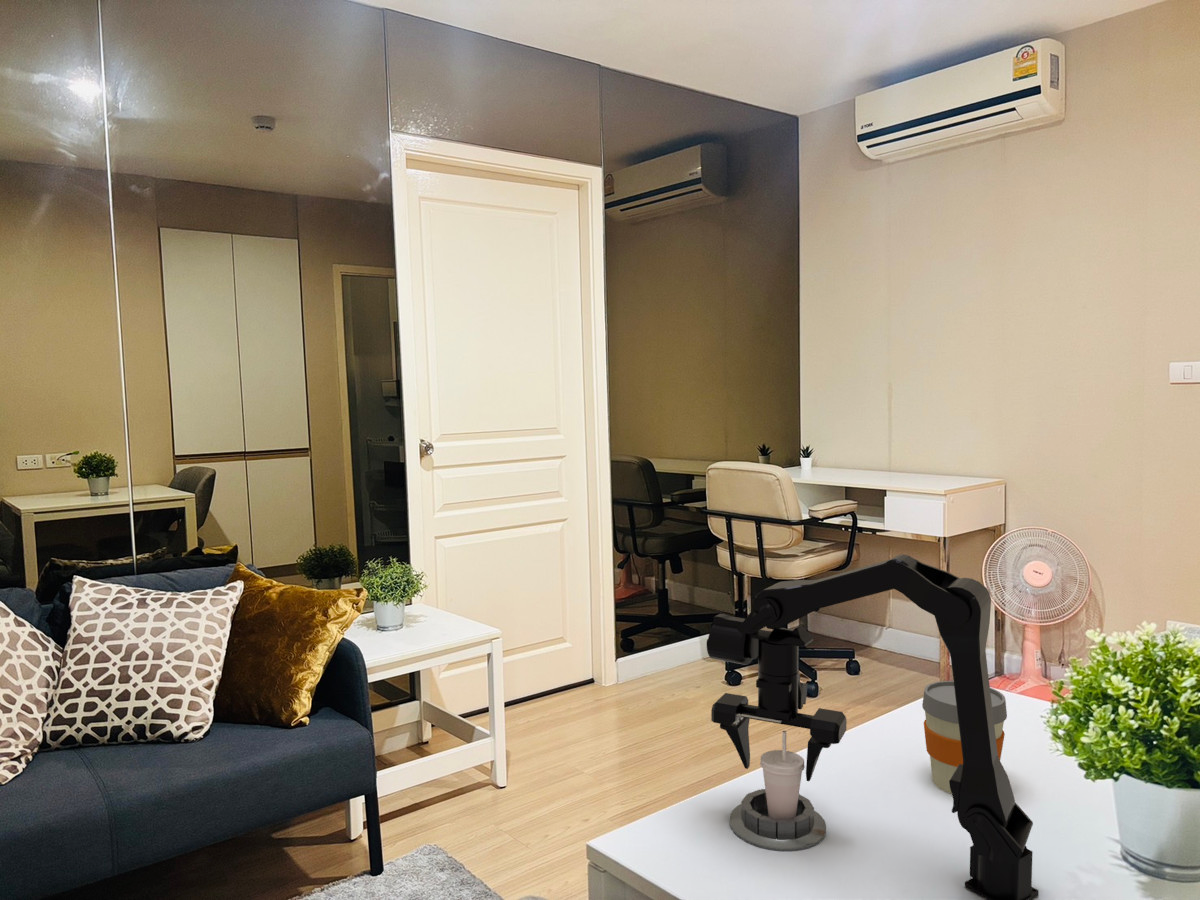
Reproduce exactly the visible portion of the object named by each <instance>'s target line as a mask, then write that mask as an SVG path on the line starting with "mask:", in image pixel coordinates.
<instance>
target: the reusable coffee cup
mask: <svg viewBox="0 0 1200 900" xmlns="http://www.w3.org/2000/svg"><path fill="white" fill-rule="evenodd" d="M990 694H991V702H992V710H993V719H994V727H995V736H996V744H997V753H998V757H999V760H1000V761H1001V757H1002V753H1003V747H1004V741H1005V731H1004V730H1003V729H1004V722H1005V720H1007V718H1008V713H1007V712H1008V711H1007V702H1006V697H1005V695H1004V694H1003V693H1002V692H1000V691H999V690H997V689H994V688H992V687H990ZM922 709H923V711H924V713H925V714H924V715H925V719H924V721H923V729H924V738H925V746H926V752H927V753H928V755H929V759H930V768H931V777H932V783H933V782H934V783H933V784H934V785H935V787H937V788H938V789H940V790H942V791H943V792H946V793H948V794H951V795H952V793H951V789H950V784H949V780H950V779H951V777H952V775H953V774H954V772H955V770H956V769H957V767H958V765H959V764H962V765H963V756H962V747H961V739H960V730H959V722H958V714H957V705H956V697H955V688H954V680H940V681H936V682H931V683H929V684H927V685H925V687H924V690H923V698H922Z"/></svg>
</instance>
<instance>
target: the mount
mask: <svg viewBox="0 0 1200 900" xmlns="http://www.w3.org/2000/svg"><path fill="white" fill-rule="evenodd" d="M729 827H730V829H731V831H732V832H733V834H734V835H735V836H736V837H738V838H739V839H741V840H742V841H744V842H745V843H747V844H750V845H752V846H755V847H758V848H761V849H765V850H768V851H769V850H771V851H776V852H777V851H778V852H794V851H801V850H806V849H809V848H812V846H813V847H814V846H817V845H818V844H820V843H821V842H822V841H823V840H824V839H825V837H826V834H827V822H826V821H825V819H824V818H823V816H822V815H821V814H820V813H819V812H818V811H816V810H815V807H814V805H813V804H812V802H811V800H810V799H809V798H807V797H805V796H803V795H802V794H800V793H799V797H798V804H797V812H796V817H793V818H784V819H776V818H772V817H769V815H768V807H767V799H766V791H765V788H761V789H757V790H755V791H752V792H748V793H747V794H745V796H744V798H742V801H741V804H739V805H737V806H736V807H734V809H733V810H732V811H731V812H730V815H729ZM820 841H821V842H820ZM819 842H820V843H819ZM816 844H817V845H816Z"/></svg>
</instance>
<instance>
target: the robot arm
mask: <svg viewBox="0 0 1200 900" xmlns="http://www.w3.org/2000/svg"><path fill="white" fill-rule="evenodd" d="M891 590H895V591H897V592H899V593H901V594H902V595H904V597H906V598H907V599H908V600H910V601H911V602H912V603H913V604H915V605H916V606H917V607H918V608H919V609H921V610H924V611H925V612H927V613H929V614H931V615H932V616H934V618H935V622H936V625H937V629H938V632H939V635H940V637H941V639H942V641H943V644H944V645H945V647H946V649H947V651H948V654H949V655H950V660H951V661H950V662H951V672H952V678H953V679H952V681H954V688H955V697H956V705H957V714H958V722H959V730H960V739H961V747H962V756H963V765H962V764H959V765H958V767H957V769H956V770H955V772H954V774H953V775H952V777H951V779H950V780H949V784H950V789H951V793H952V794H951V793H950V794H951V796H952V799H953V800H952V803H953V804H952V805H953V806H952V807H951V808H952V809H951V813H953V814H957V819H958V823H959V824H960V826H961V828H962V829H965V831H966V832H968V834H969V836H970V839H971V841H972V845H971V846H970V847H969V876H970V879H968V880H966V881H964V887H965V888H966V889H967V890H970V891H971V892H973V893H975V894H977V895H979V896H981V897H982V898H984V899H987V900H1032V899H1035V898H1036V897H1038V896H1039V890H1038V889H1036V888H1035V887H1033V886H1032V885H1033V884H1032V883H1033V882H1032V879H1033V850H1030V849H1028V846H1026V844H1027V843H1028V839H1029V837H1030V833H1031V831H1032V828H1033V825H1034V823H1033V820H1032V819H1030V817H1029V815H1027V813H1026V812H1025V811H1023V809H1022V808H1021V807H1020V806H1019V805H1018V803H1016V800H1015V796H1014V793H1013V789H1012V785H1011V782H1010V779H1009V776H1008V774H1007V771H1006V769H1005V768H1004V766H1003V764H1002V762H1001V759H1000V760H999V757H998V753H997V744H996V736H995V727H994V719H993V710H992V702H991V694H990V688H991V685H990V679H989V678H990V677H989V669H988V663H987V662H988V661H987V653H986V650H987V641H988V636H989V631H990V630H989V629H990V622H991V621H990V620H991V609H992V608H991V607H992V597H991V594H990V591H989V590H988V588H987V587H986V586H984V584H982V583H981V582H980V581H978V580H976V579H974V578H972V577H971V578H969V577H961V578H960V577H959V576H957V575H954V574H953V573H950V572H948V571H946V570H943V569H941V568H938V567H934V566H932V565H929V564H926V563H924V562H922V561H920V560H918V559H916V558H914V557H912V556H910V555H907V554H897V555H895V556H893V557H892V558H891V559H887V560H883V561H880V562H877V563H872V564H870V565H869V564H868V565H865V566H862V567H858V568H854V569H852V570H848V571H844V572H840V573H837V574H834V575H830V576H827V577H823V578H819V579H794V580H783V581H778V582H777V583H774V584H773V585H771V586H769V587H767V588H764V589H762V590H760V591H759V592H758V593H756V595H755V596H754V599H753V602H752V603H753V605H752V608H753V609H752V610H751V612H750V613H749V614H748V615H747V616H746V617H745V618H743V617H737V616H736V617H735V616H732V615H728V614H726V613H725V614H724V613H719V614H717V615H714V616H713V624H712V626H711V628H710V630H709V633H708V638H707V639H706V653H707V655H708V656H709V658H710V659H712V660H719V661H723V662H728V663H729V662H730V663H734V664H740V665H745V666H748V665H750V664H751V662H752V661H753V660H756V659H757V658H758V659H757V660H758V661H757V663H758V664H757V667H758V668H757V669H758V670H757V672H758V673H757V674H758V675H757V677H758V678H757V679H756V680H755V682H756V683H755V687H756V688H757V699H758V700H757V705H752V704H749V698H748V696H746V695H742V694H741V695H739V694H735V693H729V692H728V693H727V692H725V693H724V694H723V695H721V697H719V698H718V699H717V700H716V701H715V702H714V703H713V704H712V706H711V710H710V711H711V713H710V714H711V715H710V716H711V722H712V723H714V724H719V728H720V729H721V730H723V731H724V730H725V732H726V733H727V735H728V737H729V738H730V740H731V741H732V744H733V745H734V748H735V749H736V751H737V754H738V756H739V758H740V760H741V762H742V763H741V764H742V765H743V767H744V769H746V770H748V769H749V768H750V764H751V751H750V750H751V749H750V735H749V734H750V732H749V727H750V726H749V725H750V720H755V721H756V720H757V721H761V722H762V721H763V722H766V723H767V722H768V723H774V724H780V725H785V726H789V727H790V726H791V727H796V728H803V729H807V730H809V735H810V738H809V739H808V741H807V748H806V749H807V751H806V765H805V777H806V778H805V779H806V782H810V781H811V780H812V777H813V774H814V771H815V769H816V765H817V763H818V760H819V757H820V754H821V752H822V750H823V749H829V748H830V747H831V746H832V745H837V744H839V743H840V742H841V740H842V738H843V737H844V735H845V733H846V732H847V716H846V715H845V714H844V713H843V711H839V710H834V709H833V710H832V709H827V708H821V707H820V708H818V709H817V710H816V711H815V713H814V715H812V714H806V713H801V712H799V710H802V709H803V707H804V705H806V702H807V692H808V683H806V682H801V676H800V673H799V647H801V648H804V647H806V646H808V645H809V644H810V643H812V642H813V641H814V637H813V636H812V635H811V634H810V633H809V632H808V631H807V630H806V629H805V628H804V626H803V625H801V624H800V625H798V626H797V627H795V628H794V629H791V628H785V626H787V625H789V624H791V623H793V622H795V621H797V620H799V619H801V618H803V617H805V616H807V615H809V614H812V612H816V611H817V610H820V609H823V608H827V607H831V606H834V605H838V604H842V603H845V602H849V601H853V600H858V599H861V598H864V597H868V596H872V595H876V594H880V593H885V592H888V591H891ZM764 628H767V629H769V630H764Z"/></svg>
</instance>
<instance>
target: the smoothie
mask: <svg viewBox="0 0 1200 900" xmlns="http://www.w3.org/2000/svg"><path fill="white" fill-rule="evenodd" d="M781 738H782V749H776V750H769V751H765V752H764V753H762V754H761V756H760V763H759V765H760V767H761V768H762V773H763V782H764V787H765V788H764V789H765V791H766V799H767V807H768V815H769V817H772V818H776V819H784V818H793V817H796V812H797V804H798V797H799V794H800V791H801V790H800V788H801V781H802V775H803V771H805V769H806V765H805V759H804V758H803V756H801V755H800V754H798V753H796V752H793V751H789V750H787V731H786V730H783V731H782V737H781Z"/></svg>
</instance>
